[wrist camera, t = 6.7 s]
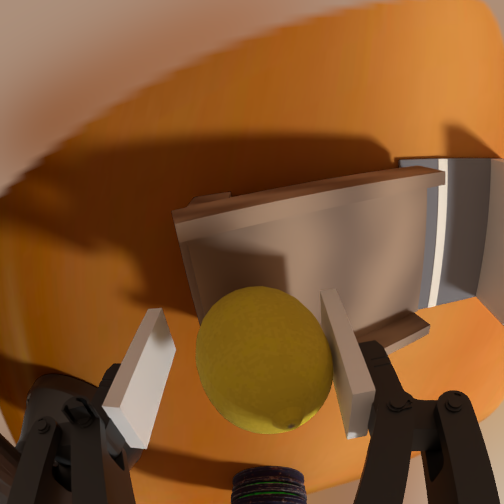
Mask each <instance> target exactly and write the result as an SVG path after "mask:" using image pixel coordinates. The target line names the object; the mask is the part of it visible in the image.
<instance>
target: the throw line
mask: <svg viewBox="0 0 504 504" xmlns="http://www.w3.org/2000/svg"><path fill="white" fill-rule="evenodd" d="M438 170H441V171H445V185H441V186H438V216H437V233H436V245H435V256H434V266H433V274H432V282H431V289H430V296H429V303H428V308H429V307H433V306H436V302H437V296H438V290H439V283H440V276H441V268H442V260H443V251H444V241H445V229H446V213H447V185H448V159H438Z"/></svg>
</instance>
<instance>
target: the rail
mask: <svg viewBox="0 0 504 504" xmlns="http://www.w3.org/2000/svg"><path fill="white" fill-rule="evenodd" d="M476 297H477V298H478V299H479V300H480V301H481V302H482V303H483V304H484V305H485V306H486V308H487V309H488V310H489V311H490V312H491V313H492V314H493V315H494V316H495V317H496V318H497V319H498V320H499V321H500V322H501V324H502V325H503V326H504V159H502V158H498V159H497V158H496V159H491V182H490V200H489V213H488V223H487V232H486V240H485V247H484V254H483V260H482V266H481V272H480V278H479V283H478V288H477V292H476Z"/></svg>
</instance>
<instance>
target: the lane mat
mask: <svg viewBox="0 0 504 504" xmlns="http://www.w3.org/2000/svg"><path fill="white" fill-rule="evenodd" d="M438 159H448V185H447V213H446V229H445V241H444V251H443V260H442V268H441V276H440V283H439V290H438V296H437V302H436V306H437V305H441V304H446V303H450V302H454V301H459V300H463V299H467V298H471V297H475V296H476V292H477V288H478V283H479V278H480V272H481V266H482V260H483V254H484V247H485V240H486V232H487V223H488V213H489V200H490V182H491V159H496V158H428V159H401V160H399V168H402V167H410V166H417V165H418V166H423V167H428V168H432V169H437V170H438ZM497 159H498V158H497ZM437 216H438V186H436V187H431V188H427V216H426V236H425V250H424V261H423V272H422V281H421V289H420V297H419V304H418V309H423V308H427V307H428V303H429V296H430V289H431V282H432V274H433V266H434V256H435V245H436V233H437Z"/></svg>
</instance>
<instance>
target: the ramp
mask: <svg viewBox="0 0 504 504" xmlns="http://www.w3.org/2000/svg"><path fill="white" fill-rule="evenodd" d="M441 185H445V171H441V170H437V169H432V168H428V167H423V166H418V165H417V166H410V167H402V168H395V169H388V170H381V171H374V172H367V173H361V174H354V175H348V176H342V177H336V178H330V179H324V180H318V181H312V182H307V183H301V184H296V185H290V186H285V187H280V188H275V189H270V190H264V191H259V192H254V193H250V194H245V195H240V196H235V197H232V196H231V192H225V193H218V194H211V195H205V196H198V197H194V198H193V199H192V201H191V202H190V203H189V205H188V206H187V207H185V208H181V209H177V210H173V211H171V212H172V216H173V221H174V225H175V229H176V233H177V237H178V241H179V246H180V250H181V254H182V258H183V262H184V266H185V270H186V274H187V278H188V282H189V286H190V290H191V294H192V298H193V302H194V305H195V309H196V313H197V317H198V320H199V324H200V326H201V324H202V321H203V319H204V317H205V316H206V314H207V313H208V311H209V310H210V309H211V307H212V306H213V305H214V304H215V303H216V302H218V301H219V300H220V299H221V298H222V297H224V296H226V295H227V294H229V293H231V292H233V291H235V290H239V289H242V288H246V287H256V286H264V287H269V288H275V289H279V290H281V291H283V292H285V293H287V294H289V295H291V296H293V297H295V298H296V299H298V300H299V301H300V302H301V303H302V304H303V305H304V306H305V307H306V308H307V309H308V310H309V311H310V312H311V313H312V314H313V315H314V316H315V317H316V319H317V321H318V322H319V324H320V326H321V302H320V291H323V290H330V289H336V291H337V293H338V296H339V298H340V300H341V303H342V305H343V308H344V310H345V312H346V315H347V317H348V320H349V322H350V325H351V327H352V330H353V332H354V335H355V337H356V340H357V342H358V343H362V342H367V341H373V340H376V341H377V342H378V343H379V344H381V345H382V346H383V347H384V349H385V351H386V353H387V355H389V354H391V353H393V352H395V351H397V350H399V349H401V348H403V347H404V346H406V345H408V344H410V343H412V342H414V341H416V340H418V339H420V338H422V337H423V336H425V335H427V334H429V329H430V324H428V323H427V322H426V321H424V320H423V319H422V318H420V317H419V316H418V315H416V314H415V313H414V312H416V311H418V304H419V297H420V289H421V281H422V272H423V261H424V250H425V236H426V216H427V188H431V187H436V186H441Z"/></svg>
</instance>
